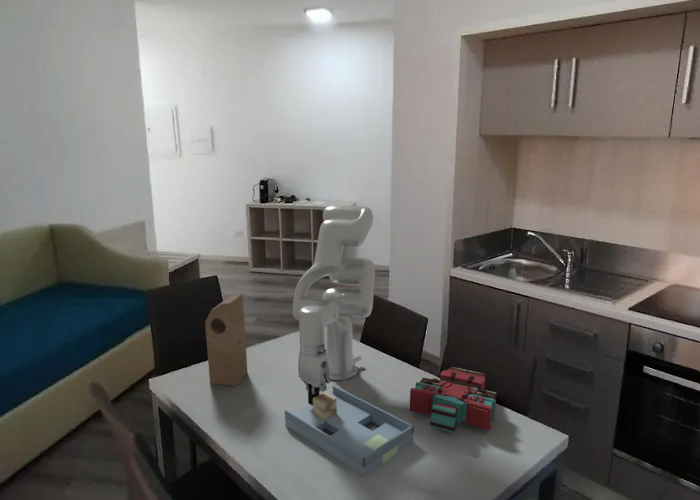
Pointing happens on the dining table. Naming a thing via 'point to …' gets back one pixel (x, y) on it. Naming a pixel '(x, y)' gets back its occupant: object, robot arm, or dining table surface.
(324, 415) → the oak block
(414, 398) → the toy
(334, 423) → the trap board
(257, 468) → the dining table surface
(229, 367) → the decorative block
